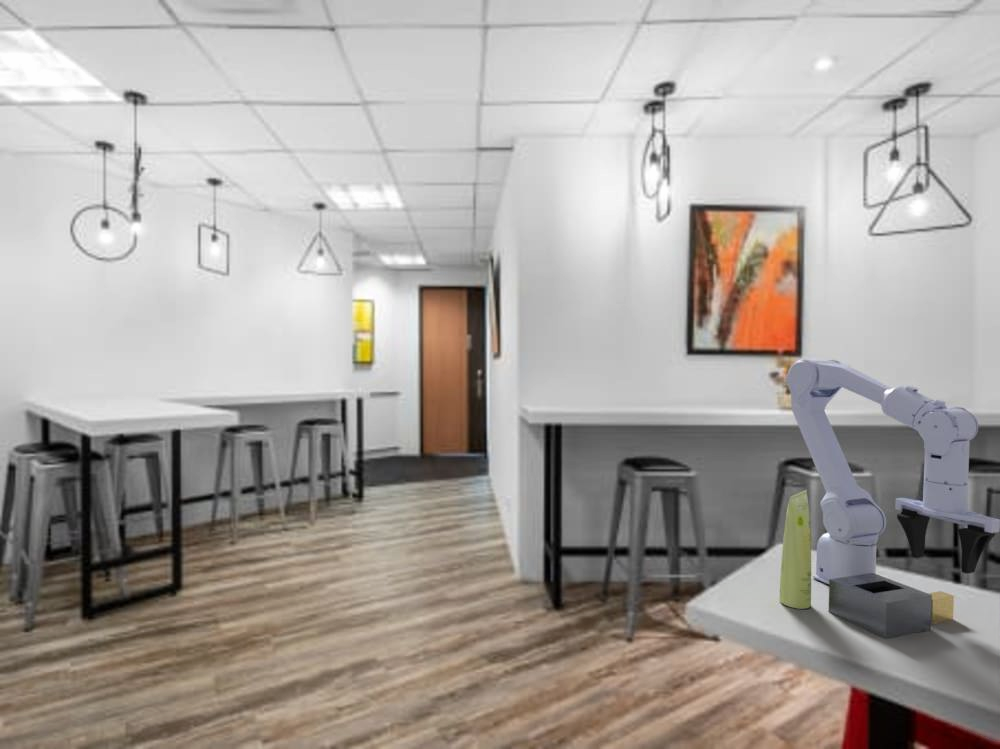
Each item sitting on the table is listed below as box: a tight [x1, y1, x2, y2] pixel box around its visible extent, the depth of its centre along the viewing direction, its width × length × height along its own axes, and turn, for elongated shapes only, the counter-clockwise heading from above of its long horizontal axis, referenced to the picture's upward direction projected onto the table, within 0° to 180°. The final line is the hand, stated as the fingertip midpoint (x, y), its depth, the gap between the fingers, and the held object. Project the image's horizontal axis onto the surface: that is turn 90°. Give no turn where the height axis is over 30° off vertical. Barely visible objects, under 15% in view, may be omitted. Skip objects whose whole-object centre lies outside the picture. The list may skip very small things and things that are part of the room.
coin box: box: [828, 573, 932, 639], centre depth 94 cm, size 10×10×6 cm
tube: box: [779, 489, 812, 610], centre depth 100 cm, size 6×5×20 cm
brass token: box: [927, 590, 955, 624], centre depth 95 cm, size 2×5×4 cm, turn 109°
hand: (942, 563), depth 95 cm, fingers open, 7 cm apart
